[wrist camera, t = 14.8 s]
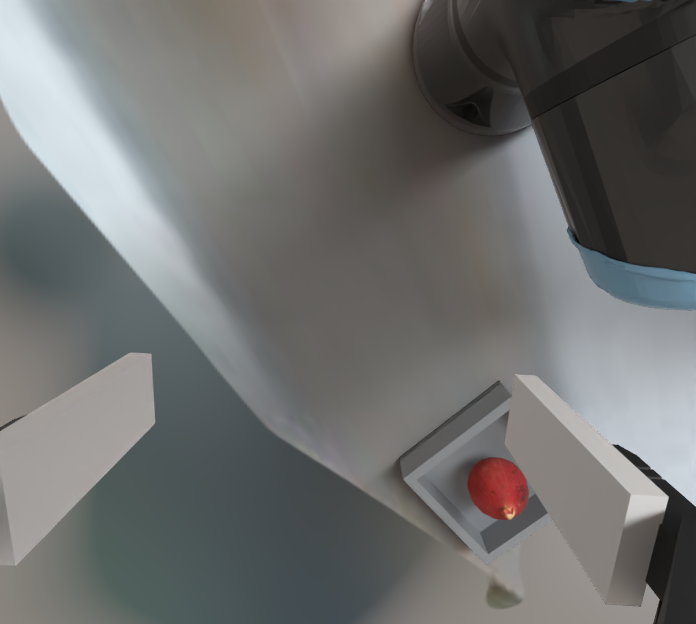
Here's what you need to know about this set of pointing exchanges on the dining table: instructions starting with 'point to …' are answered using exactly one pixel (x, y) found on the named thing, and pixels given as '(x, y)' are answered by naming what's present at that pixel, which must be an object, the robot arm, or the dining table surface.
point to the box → (454, 467)
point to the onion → (498, 488)
